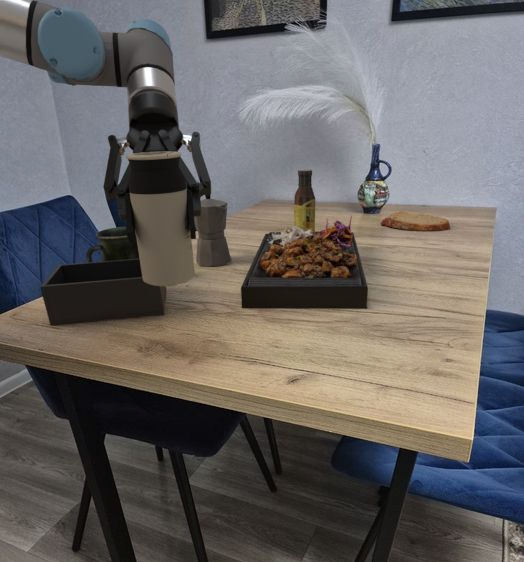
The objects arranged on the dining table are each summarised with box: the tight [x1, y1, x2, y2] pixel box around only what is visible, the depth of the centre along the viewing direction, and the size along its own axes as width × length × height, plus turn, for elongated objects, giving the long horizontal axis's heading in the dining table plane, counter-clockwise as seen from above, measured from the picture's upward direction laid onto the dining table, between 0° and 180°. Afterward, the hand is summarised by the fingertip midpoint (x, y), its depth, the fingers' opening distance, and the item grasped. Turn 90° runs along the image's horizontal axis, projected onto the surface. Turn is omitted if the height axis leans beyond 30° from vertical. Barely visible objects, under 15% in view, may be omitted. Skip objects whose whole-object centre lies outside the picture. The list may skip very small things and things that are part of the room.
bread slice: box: [380, 211, 451, 232], centre depth 152 cm, size 18×18×4 cm
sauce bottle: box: [293, 169, 316, 232], centre depth 138 cm, size 6×6×20 cm
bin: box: [39, 258, 167, 326], centre depth 96 cm, size 22×15×8 cm
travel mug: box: [125, 151, 196, 287], centre depth 69 cm, size 8×8×18 cm
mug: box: [85, 226, 139, 263], centre depth 109 cm, size 11×15×12 cm
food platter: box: [240, 215, 369, 309], centre depth 111 cm, size 45×25×10 cm, turn 174°
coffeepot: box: [194, 193, 232, 268], centre depth 121 cm, size 15×9×18 cm, turn 45°
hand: (162, 235), depth 67 cm, fingers closed on travel mug, 8 cm apart
